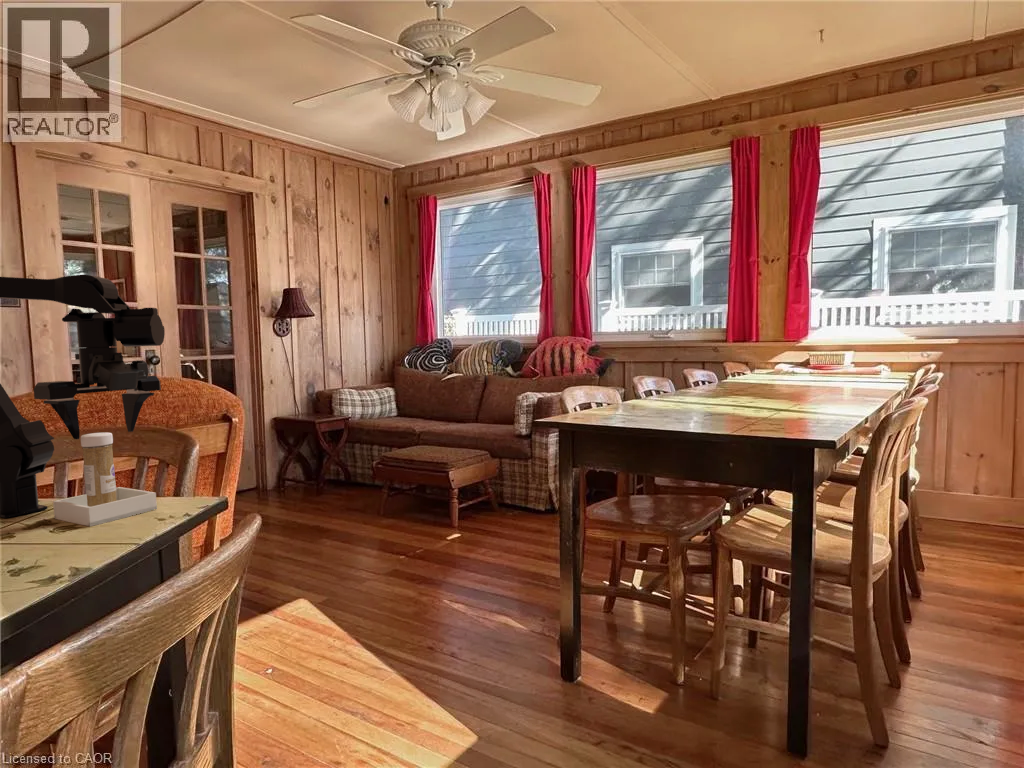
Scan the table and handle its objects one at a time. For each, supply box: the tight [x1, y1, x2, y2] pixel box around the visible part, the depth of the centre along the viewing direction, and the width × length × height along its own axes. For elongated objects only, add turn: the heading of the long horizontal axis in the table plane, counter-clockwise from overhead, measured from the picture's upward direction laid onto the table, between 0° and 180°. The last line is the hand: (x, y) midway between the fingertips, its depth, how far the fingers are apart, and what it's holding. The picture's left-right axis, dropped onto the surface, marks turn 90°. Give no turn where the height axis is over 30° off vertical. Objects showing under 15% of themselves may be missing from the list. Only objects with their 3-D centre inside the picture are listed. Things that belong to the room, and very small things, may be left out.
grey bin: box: [52, 486, 158, 527], centre depth 109 cm, size 11×11×3 cm
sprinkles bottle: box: [80, 431, 117, 507], centre depth 108 cm, size 5×5×13 cm
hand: (104, 435), depth 113 cm, fingers open, 9 cm apart
